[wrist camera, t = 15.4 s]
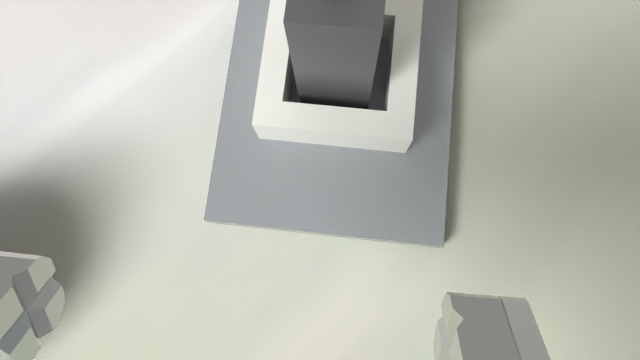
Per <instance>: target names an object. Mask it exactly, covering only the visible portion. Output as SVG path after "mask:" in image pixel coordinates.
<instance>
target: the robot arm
mask: <svg viewBox="0 0 640 360" xmlns="http://www.w3.org/2000/svg"><path fill="white" fill-rule="evenodd" d="M55 271H56V269H55V267H54V264H53V262H52V260H51V258H48V257H45V256H39V255H30V254H21V253H13V252H4V251H0V360H32V359H33V358H34V356H35V355H36V354H37V352H38V351H39V349H40V337H42V336H44V335H45V334H47V333H49V332H50V331H52V330H53V329H54V328H55V326H56V325H57V323H58V322H59V320H60V319H61V316H62V313H63V309H64V306H65V293H64V290H63V287H62V285H61V284H60V283H58V282H57V281H56V280H55V279H54V278H53V277H52V276H53V274H54V272H55ZM442 311H443V317H442V318H440V319H439V320H438V321H437V326H436V330H435V340H434V355H435V360H550V357H549V354H548V352H547V349H546V347H545V344H544V341H543V339H542V336H541V334H540V331H539V328H538V326H537V323H536V321H535V318H534V315H533V313H532V310H531V308H530V305H529V302H528V301H527V300H526V299H525V298H514V297H502V296H498V297H497V296H490V295H477V294H465V293H452V292H447V293H446V294H445V296H444V298H443V302H442Z"/></svg>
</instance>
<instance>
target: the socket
mask: <svg viewBox="0 0 640 360" xmlns="http://www.w3.org/2000/svg"><path fill="white" fill-rule="evenodd" d="M285 6H286V0H240V1H239V7H238V13H237V19H236V25H235V31H234V38H233V44H232V50H231V56H230V62H229V68H228V75H227V81H226V87H225V93H224V99H223V105H222V112H221V118H220V124H219V130H218V136H217V142H216V149H215V155H214V161H213V167H212V173H211V179H210V186H209V192H208V198H207V204H206V210H205V216H204V220H205V221H207V222H212V223H221V224H230V225H239V226H248V227H257V228H266V229H275V230H284V231H293V232H303V233H312V234H321V235H330V236H339V237H348V238H357V239H366V240H375V241H384V242H393V243H402V244H412V245H421V246H430V247H439V248H440V247H444V235H445V218H446V201H447V185H448V168H449V151H450V134H451V117H452V101H453V84H454V67H455V50H456V33H457V17H458V0H386V2H385V12H384V23H383V32H382V37H381V42H380V48H379V53H378V58H377V63H376V69H375V74H374V79H373V84H372V90H371V95H370V100H369V105H368V109H359V108H348V107H337V106H327V105H316V104H306V103H300V100H299V95H298V91H297V86H296V81H295V76H294V71H293V67H292V62H291V57H290V52H289V47H288V42H287V38H286V33H285V28H284V23H283V20H284V13H285Z"/></svg>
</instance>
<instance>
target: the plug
mask: <svg viewBox="0 0 640 360" xmlns="http://www.w3.org/2000/svg"><path fill="white" fill-rule="evenodd" d="M385 2H386V0H286V6H285V13H284V20H283V23H284V28H285V33H286V38H287V42H288V47H289V52H290V57H291V62H292V67H293V71H294V76H295V81H296V86H297V91H298V95H299V100H300V103H306V104H316V105H327V106H337V107H348V108H359V109H368V105H369V100H370V95H371V90H372V84H373V79H374V74H375V69H376V63H377V58H378V53H379V48H380V42H381V37H382V32H383V23H384V12H385Z"/></svg>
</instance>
